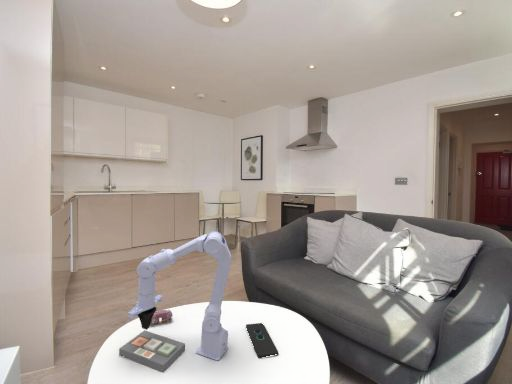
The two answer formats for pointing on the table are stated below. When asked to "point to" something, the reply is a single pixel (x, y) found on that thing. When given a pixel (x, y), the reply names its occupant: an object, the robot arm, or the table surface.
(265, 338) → the smart home device
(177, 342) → the keypad
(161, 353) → the sage key
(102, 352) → the table surface
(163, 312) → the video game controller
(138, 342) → the terracotta key
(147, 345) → the white key
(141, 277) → the robot arm
